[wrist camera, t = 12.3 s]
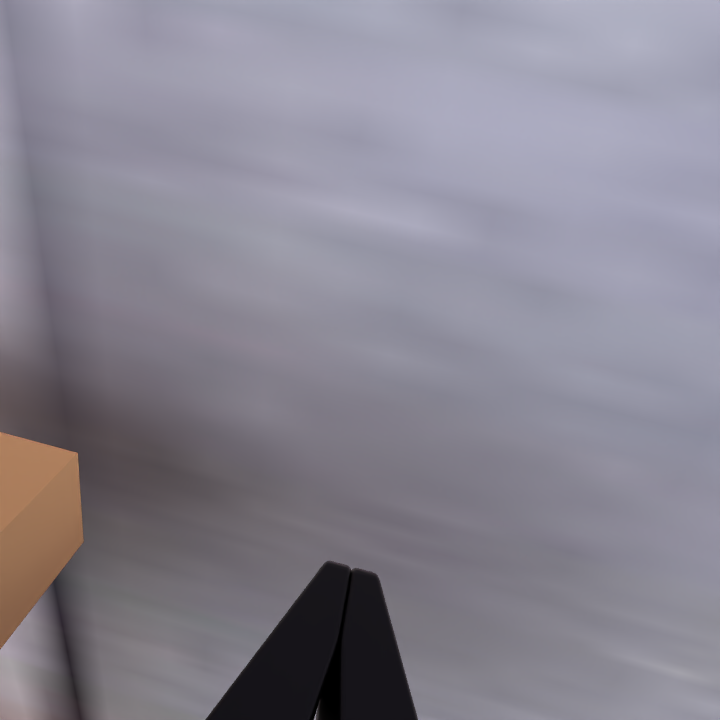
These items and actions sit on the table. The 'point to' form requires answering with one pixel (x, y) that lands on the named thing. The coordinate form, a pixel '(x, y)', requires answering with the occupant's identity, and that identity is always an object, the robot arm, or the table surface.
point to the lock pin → (34, 523)
